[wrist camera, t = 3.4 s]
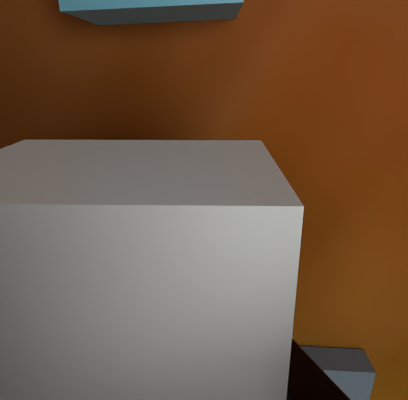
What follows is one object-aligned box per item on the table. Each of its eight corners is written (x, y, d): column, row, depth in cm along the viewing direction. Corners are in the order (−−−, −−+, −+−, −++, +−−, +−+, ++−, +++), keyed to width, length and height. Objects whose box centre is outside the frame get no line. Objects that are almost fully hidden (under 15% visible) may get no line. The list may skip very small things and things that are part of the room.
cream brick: (260, 140, 8) (303, 206, 4) (247, 425, 11) (265, 624, 7) (25, 139, 8) (-142, 203, 4) (69, 422, 11) (-10, 615, 7)
